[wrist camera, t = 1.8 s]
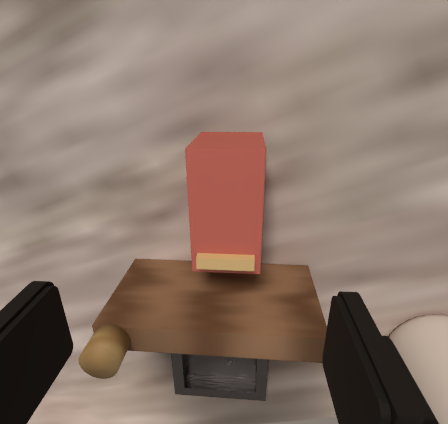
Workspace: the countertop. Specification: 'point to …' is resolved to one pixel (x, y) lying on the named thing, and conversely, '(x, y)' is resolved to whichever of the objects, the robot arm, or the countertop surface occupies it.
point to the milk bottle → (427, 358)
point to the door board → (207, 315)
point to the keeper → (220, 376)
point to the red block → (226, 201)
